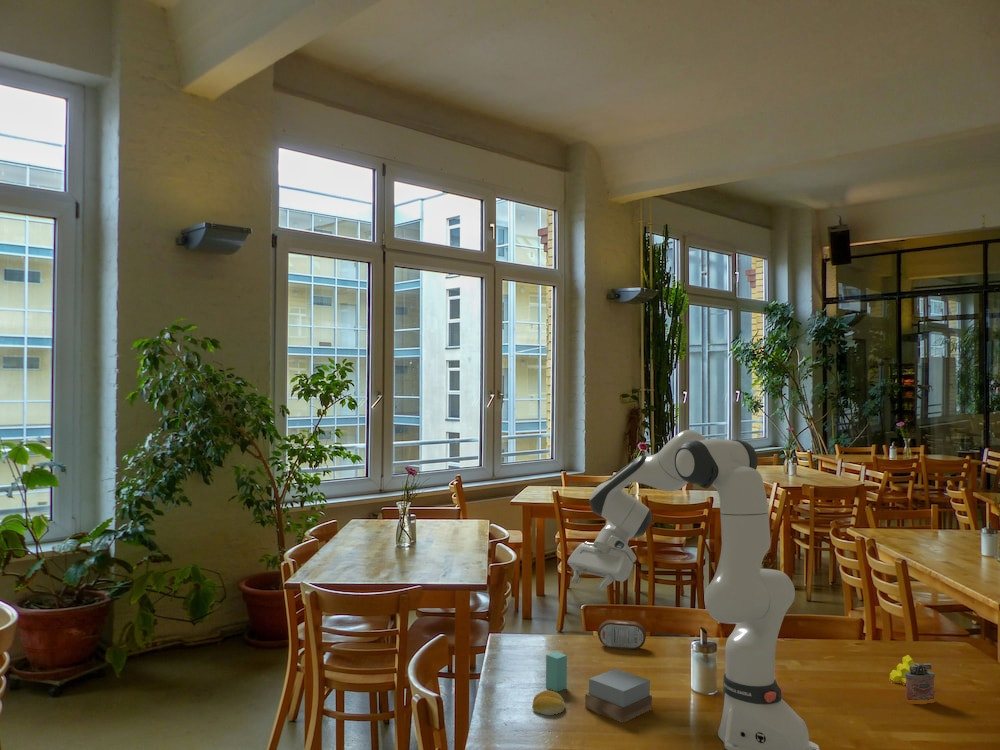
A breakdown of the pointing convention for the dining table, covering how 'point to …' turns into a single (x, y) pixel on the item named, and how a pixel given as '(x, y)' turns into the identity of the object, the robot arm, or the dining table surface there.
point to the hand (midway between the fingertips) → (586, 585)
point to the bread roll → (548, 703)
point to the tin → (622, 634)
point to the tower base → (618, 708)
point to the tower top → (619, 687)
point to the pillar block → (556, 671)
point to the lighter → (920, 682)
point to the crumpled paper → (902, 669)
